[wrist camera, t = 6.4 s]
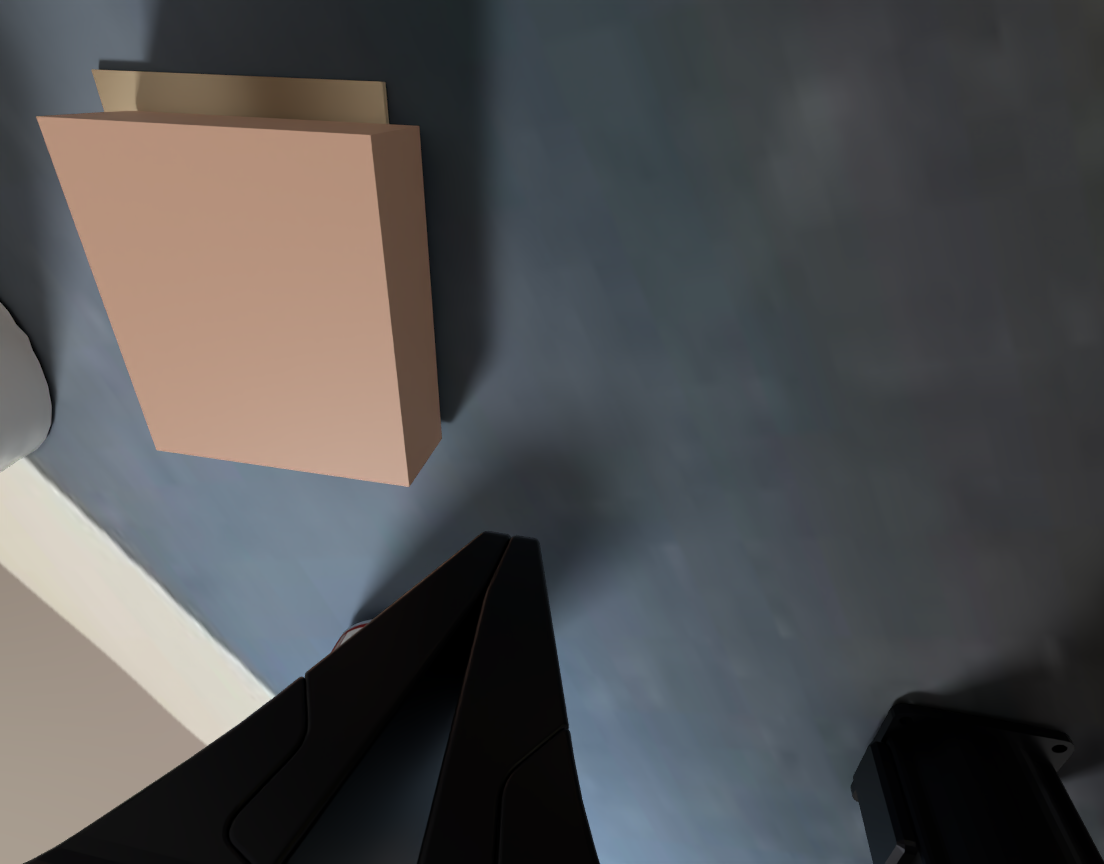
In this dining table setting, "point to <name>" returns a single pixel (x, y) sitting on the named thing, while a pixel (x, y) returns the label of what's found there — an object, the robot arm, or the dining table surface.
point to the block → (263, 283)
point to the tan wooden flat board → (243, 96)
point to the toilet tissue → (20, 395)
